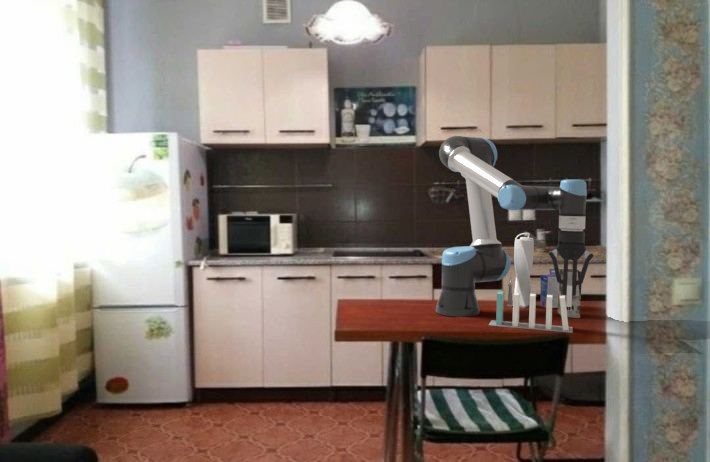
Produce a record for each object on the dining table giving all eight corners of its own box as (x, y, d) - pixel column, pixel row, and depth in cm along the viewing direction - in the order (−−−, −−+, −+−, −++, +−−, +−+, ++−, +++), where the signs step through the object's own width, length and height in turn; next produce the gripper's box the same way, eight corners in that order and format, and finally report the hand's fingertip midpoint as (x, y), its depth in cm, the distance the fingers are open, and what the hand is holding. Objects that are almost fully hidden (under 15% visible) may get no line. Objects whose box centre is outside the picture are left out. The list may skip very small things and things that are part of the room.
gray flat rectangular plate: (488, 326, 175) (488, 325, 175) (491, 321, 182) (491, 320, 182) (572, 333, 166) (572, 332, 166) (572, 328, 173) (572, 327, 173)
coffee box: (581, 318, 189) (582, 271, 188) (561, 317, 190) (562, 271, 189) (575, 313, 198) (577, 268, 197) (557, 312, 199) (558, 268, 198)
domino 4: (562, 330, 168) (559, 298, 168) (563, 327, 173) (559, 295, 173) (568, 330, 167) (565, 298, 167) (568, 327, 172) (565, 295, 172)
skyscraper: (515, 302, 217) (517, 232, 216) (535, 305, 212) (537, 233, 210) (506, 305, 211) (508, 233, 209) (527, 308, 205) (529, 234, 204)
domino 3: (545, 329, 170) (546, 297, 169) (546, 325, 174) (547, 294, 174) (551, 329, 169) (552, 297, 169) (551, 326, 174) (552, 295, 173)
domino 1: (512, 326, 173) (513, 294, 173) (513, 322, 178) (514, 292, 178) (517, 326, 173) (518, 295, 172) (518, 323, 177) (519, 292, 177)
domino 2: (528, 327, 172) (529, 295, 171) (529, 324, 176) (530, 293, 176) (534, 328, 171) (535, 296, 171) (535, 324, 176) (535, 293, 175)
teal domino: (496, 324, 175) (496, 293, 175) (497, 321, 180) (498, 291, 179) (501, 325, 175) (502, 294, 174) (502, 322, 179) (503, 291, 179)
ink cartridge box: (561, 305, 214) (562, 268, 213) (570, 307, 208) (571, 269, 208) (538, 305, 211) (540, 268, 210) (547, 308, 206) (548, 270, 205)
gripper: (549, 229, 167) (546, 306, 168) (595, 231, 163) (592, 310, 164) (549, 228, 174) (546, 302, 175) (594, 230, 170) (591, 305, 171)
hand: (568, 306), depth 170 cm, fingers closed
